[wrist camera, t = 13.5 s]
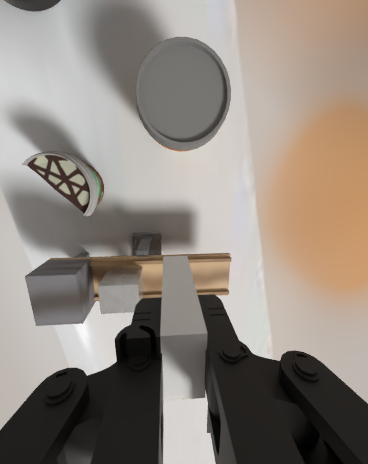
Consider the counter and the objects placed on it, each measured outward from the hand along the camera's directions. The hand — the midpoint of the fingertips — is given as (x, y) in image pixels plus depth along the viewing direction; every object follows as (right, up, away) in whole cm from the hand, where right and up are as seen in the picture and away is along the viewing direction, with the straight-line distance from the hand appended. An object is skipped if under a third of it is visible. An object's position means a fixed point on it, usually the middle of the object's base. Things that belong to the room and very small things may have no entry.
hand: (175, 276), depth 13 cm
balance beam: (-7, -6, +25) cm, 27 cm away
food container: (-19, +14, +28) cm, 37 cm away
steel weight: (-10, -6, +24) cm, 27 cm away
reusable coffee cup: (-1, +24, +27) cm, 36 cm away
